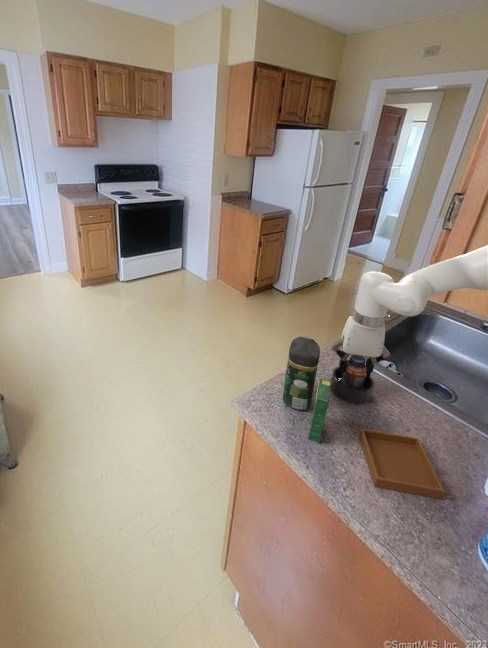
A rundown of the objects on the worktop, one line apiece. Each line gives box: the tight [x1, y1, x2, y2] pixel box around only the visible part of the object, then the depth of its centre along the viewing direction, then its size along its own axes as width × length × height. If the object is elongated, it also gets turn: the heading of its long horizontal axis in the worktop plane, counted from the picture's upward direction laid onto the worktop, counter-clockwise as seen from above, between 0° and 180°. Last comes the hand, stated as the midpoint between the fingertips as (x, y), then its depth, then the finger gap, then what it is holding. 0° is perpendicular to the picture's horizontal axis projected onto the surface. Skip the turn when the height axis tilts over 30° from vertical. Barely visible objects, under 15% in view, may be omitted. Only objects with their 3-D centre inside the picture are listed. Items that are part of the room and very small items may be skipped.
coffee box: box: [307, 378, 331, 444], centre depth 79 cm, size 8×3×13 cm, turn 155°
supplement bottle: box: [341, 354, 367, 391], centre depth 93 cm, size 6×6×11 cm
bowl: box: [330, 366, 375, 406], centre depth 94 cm, size 11×11×4 cm
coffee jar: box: [282, 336, 321, 411], centre depth 88 cm, size 10×8×19 cm
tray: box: [358, 428, 446, 501], centre depth 73 cm, size 13×13×2 cm
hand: (354, 371), depth 93 cm, fingers closed on supplement bottle, 6 cm apart
